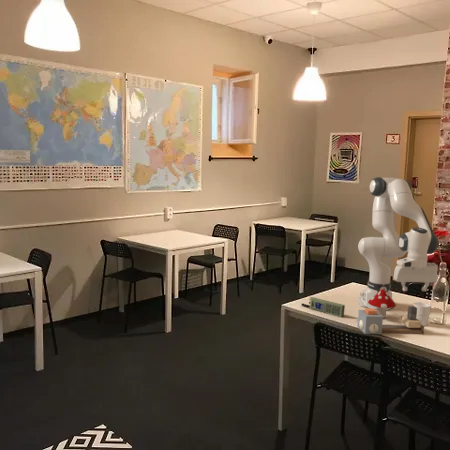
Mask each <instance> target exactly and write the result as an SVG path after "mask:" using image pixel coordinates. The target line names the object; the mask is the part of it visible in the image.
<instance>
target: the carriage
mask: <svg viewBox="0 0 450 450" xmlns="http://www.w3.org/2000/svg"><path fill="white" fill-rule="evenodd" d="M416 316H417V308H416V307H415V306H414V305H408V307H407V315H406V316H402V317H401V323H402V325H406V326H407V327H408V328H421V321H420V320H418V319H417V318H416Z"/></svg>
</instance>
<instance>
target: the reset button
mask: <svg viewBox="0 0 450 450" xmlns="http://www.w3.org/2000/svg"><path fill="white" fill-rule="evenodd" d="M364 310H365V313H366V314H367V315H376V313H377V311H376V309H373V308H367V307H364Z"/></svg>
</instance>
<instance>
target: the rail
mask: <svg viewBox="0 0 450 450" xmlns="http://www.w3.org/2000/svg"><path fill="white" fill-rule="evenodd" d="M424 332H425V326H423V325H421V328H408V327H407V326H406V325H404V324H382V334H413V335H414V334H415V335H417V334H418V335H419V334H420V335H421V334H423V335H424Z"/></svg>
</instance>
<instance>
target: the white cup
mask: <svg viewBox="0 0 450 450" xmlns="http://www.w3.org/2000/svg"><path fill="white" fill-rule="evenodd" d="M413 306H415V307H416V308H417V316H416V318H417V319H418V320H420V321H421V325H423V326H424V327H425V326H428V325H429V320H430V314H431V308H432V307H431V304H430V303H426V302H421V301H420V302H419V301H417V302H416V301H415V302H414V303H413Z"/></svg>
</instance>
